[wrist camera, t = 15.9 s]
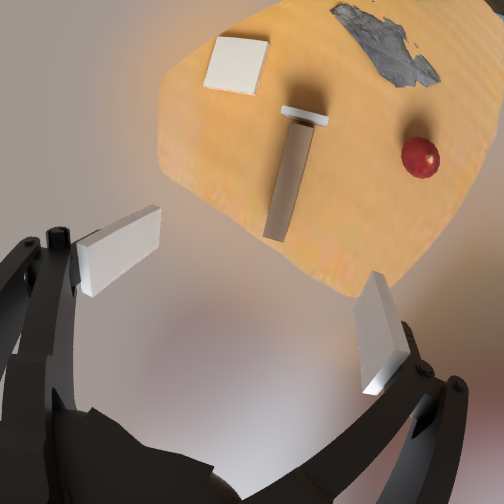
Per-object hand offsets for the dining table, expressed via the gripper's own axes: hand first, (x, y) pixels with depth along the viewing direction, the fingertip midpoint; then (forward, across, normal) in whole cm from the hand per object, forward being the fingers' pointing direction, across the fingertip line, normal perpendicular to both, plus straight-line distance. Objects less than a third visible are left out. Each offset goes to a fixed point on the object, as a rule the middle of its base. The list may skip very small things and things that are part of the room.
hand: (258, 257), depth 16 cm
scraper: (+27, -1, +2) cm, 27 cm away
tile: (+26, -13, +12) cm, 32 cm away
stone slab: (+28, +8, +27) cm, 40 cm away
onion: (+28, +16, +10) cm, 33 cm away
